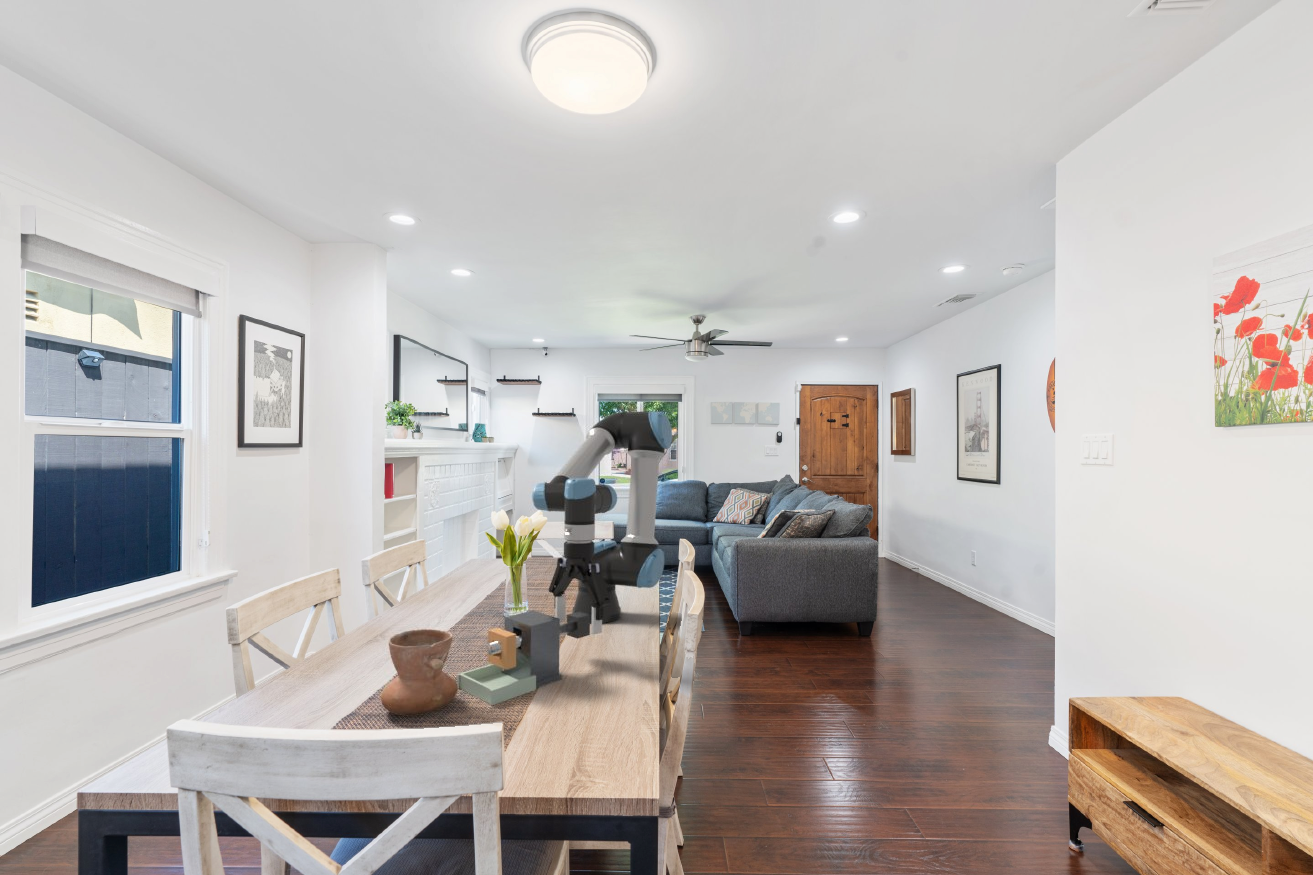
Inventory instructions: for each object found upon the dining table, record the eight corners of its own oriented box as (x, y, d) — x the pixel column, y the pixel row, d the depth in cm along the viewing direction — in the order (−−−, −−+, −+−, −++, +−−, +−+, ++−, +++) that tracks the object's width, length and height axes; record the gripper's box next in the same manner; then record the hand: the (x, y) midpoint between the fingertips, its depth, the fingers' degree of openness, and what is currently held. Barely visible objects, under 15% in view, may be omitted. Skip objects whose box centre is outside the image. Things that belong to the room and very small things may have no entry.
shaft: (579, 631, 153) (579, 611, 153) (589, 634, 151) (590, 614, 151) (484, 658, 133) (485, 635, 133) (495, 663, 131) (495, 639, 131)
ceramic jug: (472, 709, 122) (473, 638, 123) (399, 731, 112) (400, 653, 113) (434, 685, 135) (435, 621, 136) (365, 703, 125) (367, 633, 126)
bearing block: (529, 666, 147) (530, 609, 147) (561, 679, 139) (562, 619, 139) (501, 675, 141) (502, 616, 141) (533, 689, 133) (533, 626, 133)
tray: (501, 674, 142) (501, 661, 142) (535, 689, 133) (536, 675, 133) (457, 687, 133) (457, 674, 133) (491, 705, 124) (491, 690, 124)
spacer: (497, 658, 137) (497, 627, 137) (515, 666, 133) (516, 634, 133) (487, 661, 135) (488, 630, 136) (506, 669, 131) (506, 636, 131)
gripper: (535, 537, 156) (534, 620, 156) (602, 548, 140) (601, 641, 139) (559, 534, 162) (557, 615, 161) (625, 544, 145) (624, 634, 145)
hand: (577, 627), depth 150 cm, fingers open, 13 cm apart
